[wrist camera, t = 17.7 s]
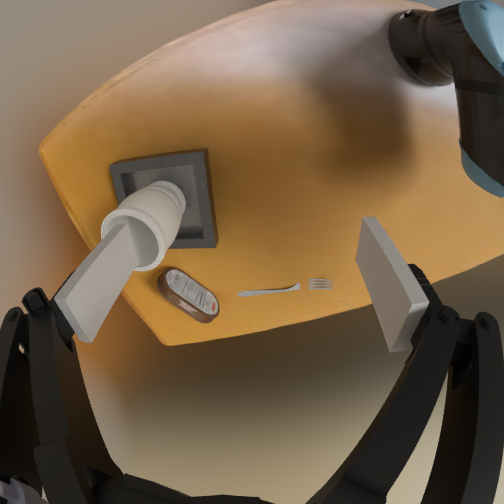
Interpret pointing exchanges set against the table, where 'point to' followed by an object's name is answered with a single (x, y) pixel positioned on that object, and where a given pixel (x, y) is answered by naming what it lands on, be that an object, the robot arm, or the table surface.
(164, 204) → the jar
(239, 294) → the fork
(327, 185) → the table surface
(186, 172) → the dark grey square tray
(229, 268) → the table surface
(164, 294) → the tin
